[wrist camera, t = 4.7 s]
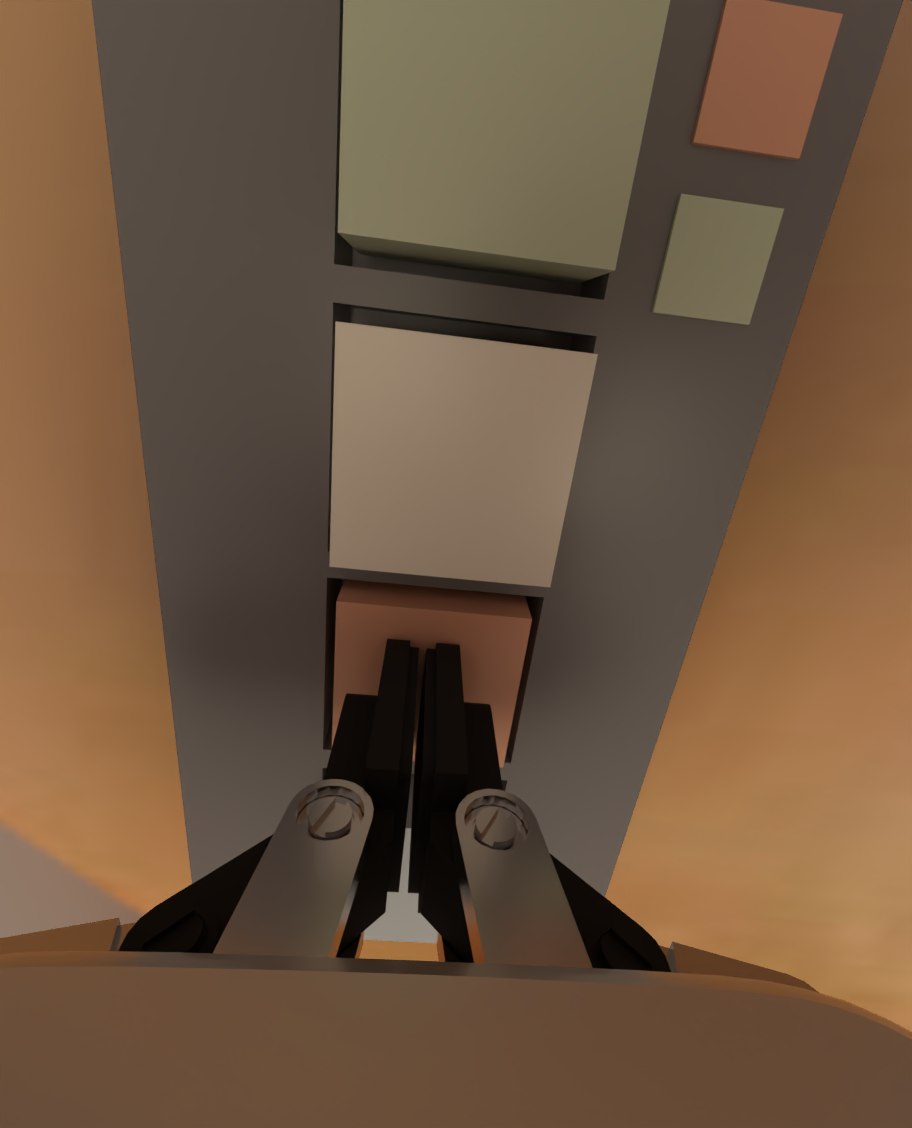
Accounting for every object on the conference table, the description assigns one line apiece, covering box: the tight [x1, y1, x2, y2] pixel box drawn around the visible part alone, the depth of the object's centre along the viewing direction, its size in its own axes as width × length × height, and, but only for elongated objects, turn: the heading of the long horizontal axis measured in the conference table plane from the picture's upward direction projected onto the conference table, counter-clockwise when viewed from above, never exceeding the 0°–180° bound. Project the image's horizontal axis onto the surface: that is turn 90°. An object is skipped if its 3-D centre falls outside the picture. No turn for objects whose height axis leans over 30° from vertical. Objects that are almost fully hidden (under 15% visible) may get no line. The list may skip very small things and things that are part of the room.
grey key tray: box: [92, 0, 903, 897], centre depth 13 cm, size 22×12×3 cm, turn 173°
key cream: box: [329, 321, 598, 587], centre depth 10 cm, size 4×4×2 cm
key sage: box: [338, 0, 670, 284], centre depth 8 cm, size 4×4×2 cm
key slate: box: [364, 774, 437, 943], centre depth 15 cm, size 4×4×2 cm
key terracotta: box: [332, 579, 532, 768], centre depth 13 cm, size 4×4×2 cm
